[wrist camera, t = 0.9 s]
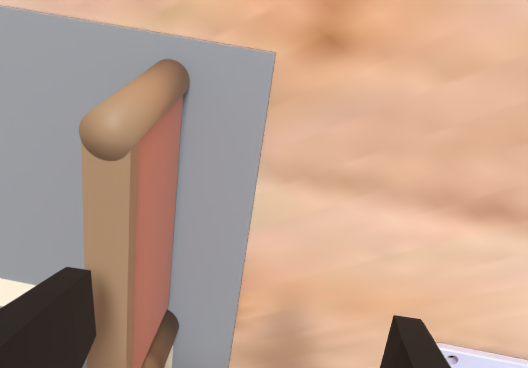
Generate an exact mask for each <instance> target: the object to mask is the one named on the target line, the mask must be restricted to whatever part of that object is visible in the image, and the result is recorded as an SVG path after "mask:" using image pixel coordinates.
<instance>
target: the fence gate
mask: <svg viewBox="0 0 528 368" xmlns="http://www.w3.org/2000/svg"><path fill="white" fill-rule="evenodd" d="M189 83H190V79H189V74H188V72H187V70H186V69H185V67H184V66H183V65H182V64H181V63H179V62H178V61H175V60H172V59H164V60H161V61H159V62H157V63H156V64H155V65H153V66H152V67H150V68H149V69H148V70H146V71H145V72H143V73H142V74H141V75H139V76H138V77H137V78H135V79H134V80H132V81H131V82H130V83H128V84H127V85H125V86H124V87H123V88H121V89H120V90H119V91H117V92H116V93H114V94H113V95H112V96H110V97H109V98H107V99H106V100H105V101H103V102H102V103H101V104H99V105H98V106H96V107H95V108H94V109H92V110H91V111H89V112H88V113H87V114H86V115H85V116H84V117H83V118H82V120H81V122H80V125H79V135H80V139H81V156H82V193H83V230H84V267H85V270H91V278H92V289H93V301H94V312H95V324H96V337H95V340H94V342H93V344H92V347H91V349H90V352H89V354H88V356H87V368H141V366H142V364H143V362H144V359H145V357H146V355H147V353H148V350H149V348H150V346H151V344H152V341H153V339H154V337H155V335H156V332H157V330H158V328H159V326H160V324H161V321H162V319H163V317H164V315H165V312H166V310H167V308H168V303H169V289H170V275H171V260H172V246H173V232H174V217H175V203H176V189H177V174H178V160H179V146H180V132H181V117H182V103H183V95H184V94H185V93H186V91H187V90H188V87H189Z"/></svg>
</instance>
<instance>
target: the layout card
mask: <svg viewBox="0 0 528 368" xmlns="http://www.w3.org/2000/svg"><path fill="white" fill-rule="evenodd" d="M275 56H276V52H271V51H265V50H259V49H253V48H247V47H241V46H235V45H230V44H224V43H218V42H212V41H206V40H200V39H195V38H189V37H183V36H177V35H171V34H165V33H159V32H154V31H148V30H142V29H136V28H130V27H124V26H118V25H113V24H107V23H101V22H95V21H89V20H83V19H78V18H72V17H66V16H60V15H54V14H48V13H42V12H37V11H31V10H25V9H19V8H13V7H7V6H2V5H0V308H2V307H3V306H5V305H6V304H8V303H10V302H11V301H13V300H14V299H16V298H18V297H19V296H21V295H22V294H24V293H25V292H27V291H29V290H30V289H32V288H33V287H35V286H36V285H38V284H39V283H41V282H43V281H44V280H46V279H47V278H49V277H50V276H52V275H54V274H55V273H57V272H58V271H60V270H62V269H64V268H65V267H72V268H79V269H85V267H84V230H83V193H82V156H81V139H80V135H79V125H80V122H81V120H82V118H83V117H84V116H85V115H86V114H87V113H88V112H89V111H91V110H92V109H94V108H95V107H96V106H98V105H99V104H101V103H102V102H103V101H105V100H106V99H107V98H109V97H110V96H112V95H113V94H114V93H116V92H117V91H119V90H120V89H121V88H123V87H124V86H125V85H127V84H128V83H130V82H131V81H132V80H134V79H135V78H137V77H138V76H139V75H141V74H142V73H143V72H145V71H146V70H148V69H149V68H150V67H152V66H153V65H155V64H156V63H157V62H159V61H161V60H164V59H172V60H175V61H178V62H179V63H181V64H182V65H183V66H184V67H185V69H186V70H187V72H188V74H189V79H190V83H189V87H188V90H187V91H186V93H185V94H184V95H183V103H182V117H181V132H180V146H179V160H178V174H177V189H176V203H175V217H174V232H173V246H172V260H171V275H170V289H169V303H168V308H167V309H168V310H169V311H171V312H172V313H173V314H174V315H175V316H176V318H177V319H178V322H179V330H178V333H177V335H176V338H175V341H174V343H173V346H172V348H171V351H170V353H169V356H168V358H167V361H166V363H165V368H229V361H230V354H231V348H232V341H233V335H234V328H235V321H236V315H237V308H238V301H239V295H240V288H241V282H242V275H243V268H244V262H245V255H246V248H247V242H248V235H249V229H250V222H251V215H252V209H253V202H254V195H255V189H256V182H257V176H258V169H259V162H260V156H261V149H262V142H263V136H264V129H265V123H266V116H267V109H268V103H269V96H270V89H271V83H272V76H273V70H274V63H275ZM82 368H87V358H86V361H85V363H84V365H83V367H82Z"/></svg>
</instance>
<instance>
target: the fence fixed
mask: <svg viewBox="0 0 528 368" xmlns="http://www.w3.org/2000/svg"><path fill="white" fill-rule="evenodd" d="M178 330H179V322H178V319H177V318H176V316H175V315H174V314H173V313H172V312H171V311H169V310H168V309H167V310H166V312H165V315H164V317H163V319H162V321H161V324H160V326H159V328H158V330H157V332H156V335H155V337H154V339H153V341H152V344H151V346H150V348H149V350H148V353H147V355H146V357H145V359H144V362H143V364H142V366H141V368H165V363H166V361H167V358H168V356H169V353H170V351H171V348H172V346H173V343H174V341H175V338H176V335H177V333H178Z"/></svg>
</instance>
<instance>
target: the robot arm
mask: <svg viewBox="0 0 528 368" xmlns="http://www.w3.org/2000/svg"><path fill="white" fill-rule="evenodd" d="M95 337H96V324H95V312H94V301H93V289H92V278H91V270H85V269H79V268H72V267H65V268H64V269H62V270H60V271H58V272H57V273H55V274H54V275H52V276H50V277H49V278H47V279H46V280H44V281H43V282H41V283H39V284H38V285H36V286H35V287H33V288H32V289H30V290H29V291H27V292H25V293H24V294H22V295H21V296H19V297H18V298H16V299H14V300H13V301H11V302H10V303H8V304H6V305H5V306H3V307H2V308H0V368H82V367H83V365H84V363H85V361H86V358H87V356H88V354H89V352H90V349H91V347H92V344H93V342H94V340H95ZM448 356H455V357H452V358H448ZM380 368H528V360H525V359H520V358H515V357H509V356H504V355H499V354H494V353H489V352H484V351H479V350H474V349H469V348H463V347H458V346H453V345H448V344H443V343H436V342H435V341H434V339H433V338H432V336H431V334H430V333H429V331H428V329H427V328H426V326H425V324H424V323H423V322H422V320H421V319H415V318H409V317H402V316H395V315H394V316H393V320H392V324H391V328H390V331H389V335H388V339H387V343H386V347H385V351H384V355H383V359H382V363H381V366H380Z"/></svg>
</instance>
